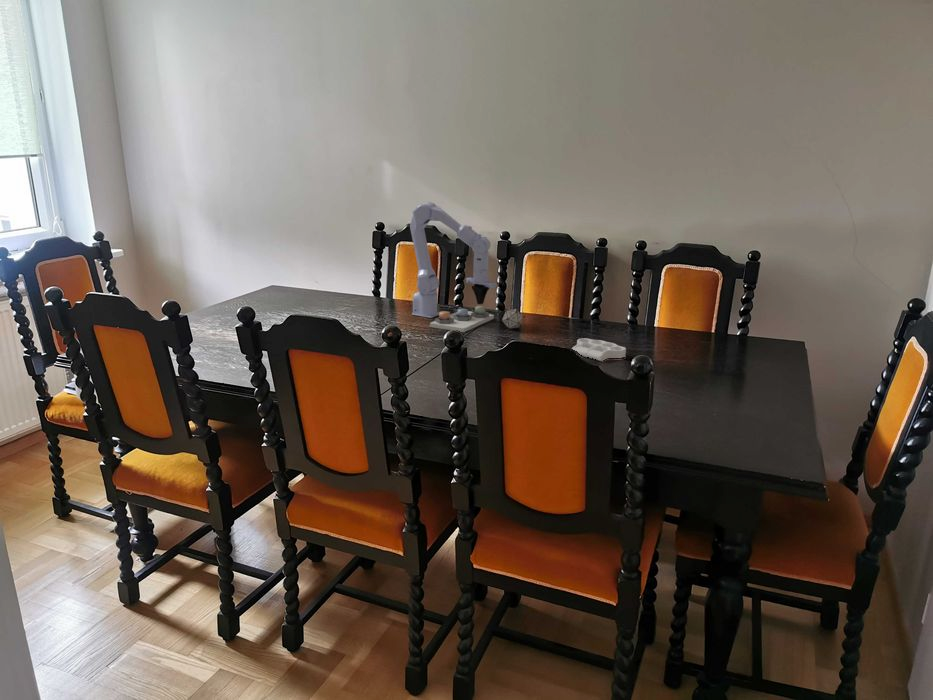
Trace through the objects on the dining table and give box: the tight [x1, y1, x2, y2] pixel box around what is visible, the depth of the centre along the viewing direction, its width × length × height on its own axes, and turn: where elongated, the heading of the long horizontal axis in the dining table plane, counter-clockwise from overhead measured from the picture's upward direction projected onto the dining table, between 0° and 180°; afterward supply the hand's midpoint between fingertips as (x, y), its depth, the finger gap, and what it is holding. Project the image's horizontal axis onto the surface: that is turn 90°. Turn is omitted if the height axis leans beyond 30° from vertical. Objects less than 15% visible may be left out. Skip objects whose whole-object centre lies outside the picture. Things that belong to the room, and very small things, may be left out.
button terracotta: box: [438, 310, 451, 320], centre depth 264 cm, size 4×4×2 cm
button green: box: [474, 305, 486, 314], centre depth 273 cm, size 4×4×2 cm
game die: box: [499, 306, 526, 331], centre depth 260 cm, size 9×8×10 cm
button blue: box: [456, 308, 469, 317], centre depth 268 cm, size 4×4×2 cm
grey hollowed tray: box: [571, 337, 627, 362], centre depth 233 cm, size 3×18×15 cm
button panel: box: [429, 310, 495, 333], centre depth 269 cm, size 15×24×3 cm, turn 151°
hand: (480, 303), depth 272 cm, fingers closed
